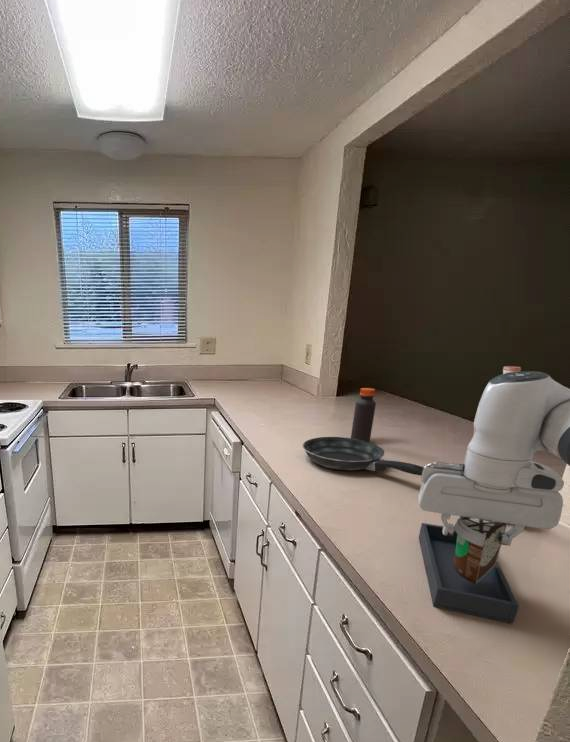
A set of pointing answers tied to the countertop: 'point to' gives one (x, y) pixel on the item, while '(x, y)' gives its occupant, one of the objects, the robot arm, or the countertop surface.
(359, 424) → the bottle
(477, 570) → the food container
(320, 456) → the frying pan
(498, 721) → the countertop surface
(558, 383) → the robot arm
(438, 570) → the dark blue tray
